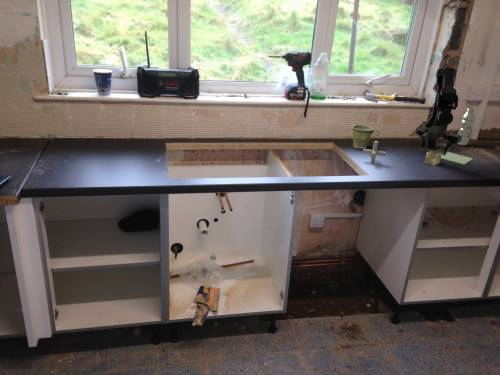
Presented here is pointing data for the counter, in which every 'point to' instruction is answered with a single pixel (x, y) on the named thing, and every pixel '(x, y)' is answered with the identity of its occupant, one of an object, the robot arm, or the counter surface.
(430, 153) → the beech block
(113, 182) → the counter surface
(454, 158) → the sage mat
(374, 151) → the pipe connector
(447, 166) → the counter surface
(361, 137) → the ceramic cup
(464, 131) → the silver ribbed metal bottle
